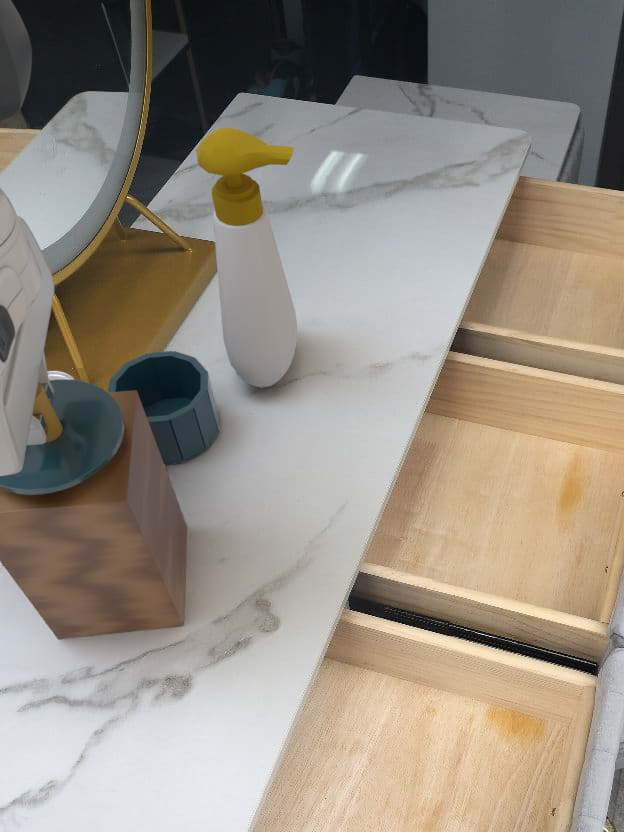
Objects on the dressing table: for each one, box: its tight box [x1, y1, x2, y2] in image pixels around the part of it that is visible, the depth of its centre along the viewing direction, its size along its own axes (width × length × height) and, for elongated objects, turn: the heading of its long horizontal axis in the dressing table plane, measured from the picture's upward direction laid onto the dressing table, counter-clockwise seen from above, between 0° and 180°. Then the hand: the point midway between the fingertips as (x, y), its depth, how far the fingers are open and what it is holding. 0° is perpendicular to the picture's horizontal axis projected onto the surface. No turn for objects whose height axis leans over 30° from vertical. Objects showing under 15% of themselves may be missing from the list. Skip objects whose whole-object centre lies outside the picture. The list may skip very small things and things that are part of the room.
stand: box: [0, 390, 188, 640], centre depth 74 cm, size 12×12×20 cm
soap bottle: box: [195, 127, 298, 389], centre depth 88 cm, size 13×10×29 cm
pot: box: [107, 350, 221, 466], centre depth 91 cm, size 11×11×7 cm
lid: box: [0, 379, 124, 495], centre depth 62 cm, size 12×12×5 cm
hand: (40, 419), depth 63 cm, fingers closed on lid, 2 cm apart
